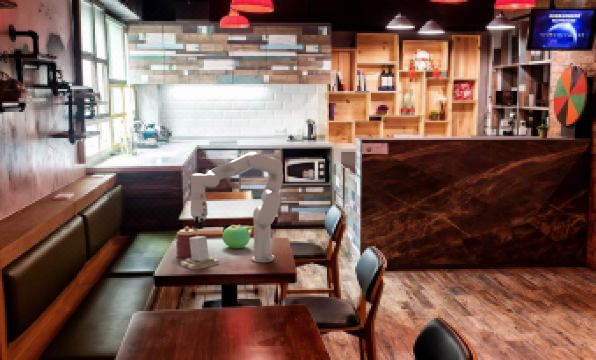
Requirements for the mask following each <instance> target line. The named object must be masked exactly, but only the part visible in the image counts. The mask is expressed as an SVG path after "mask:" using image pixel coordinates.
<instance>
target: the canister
mask: <svg viewBox="0 0 596 360" xmlns="http://www.w3.org/2000/svg"><path fill="white" fill-rule="evenodd" d="M197 233H198V232H197V231H196V230H195V229H193V228H190V227H189V226H185V227H184V228H182V229H179V231H177V232H176V234H177V235H176V236H175V238H176V241H175V244H176V247H175V249H176V251H175V253H176V254H175V255H176V257H177V258H179V259H189V258H192V256H191V248H190V239H189V238H192V237H197V236H199V235H198V234H197Z"/></svg>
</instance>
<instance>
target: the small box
mask: <svg viewBox="0 0 596 360" xmlns="http://www.w3.org/2000/svg"><path fill="white" fill-rule="evenodd" d="M189 239H190V248H191V256H192V261H203V260H207V259H209V257H210V255H209V250H208V249H209V248H208V240H207V236H199V235H198V236H197V237H192V238H189Z"/></svg>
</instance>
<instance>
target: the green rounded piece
mask: <svg viewBox="0 0 596 360" xmlns="http://www.w3.org/2000/svg"><path fill="white" fill-rule="evenodd" d="M252 229H254V225H252V226H249V225H248V226H242V225H241V224H238V225H237V224H236V225H235V224H231V225H230V226H228V227H227V228H225V229H224V230H223V233H222V237H221V238H222V241H223V243H224V244H225V245H226V246H227V247H229V248H231V249H242V248H244V247H246V246H247V245H248V244H249V243H250V240H251V235H250V232H249V231H251V230H252Z"/></svg>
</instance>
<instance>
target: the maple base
mask: <svg viewBox="0 0 596 360" xmlns="http://www.w3.org/2000/svg"><path fill="white" fill-rule="evenodd" d="M219 264H220V261H219V259H217V258H216V259H215V258H213V257H210V256H209V259H207V260H203V261H192V258H184V260H182V261H180V266H182V267H184V268H188V269H190V270H193V271H197V270H200V269H203V268H208V267H211V266H215V265H219Z"/></svg>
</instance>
